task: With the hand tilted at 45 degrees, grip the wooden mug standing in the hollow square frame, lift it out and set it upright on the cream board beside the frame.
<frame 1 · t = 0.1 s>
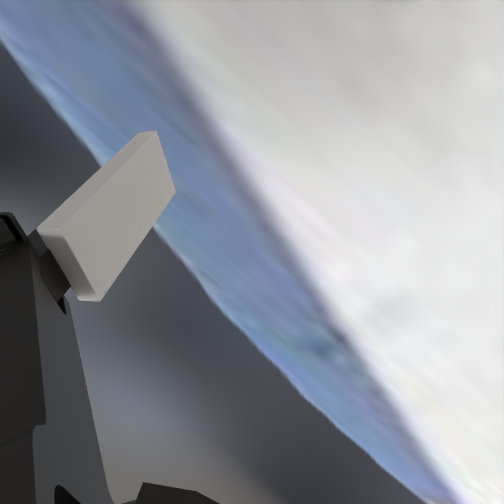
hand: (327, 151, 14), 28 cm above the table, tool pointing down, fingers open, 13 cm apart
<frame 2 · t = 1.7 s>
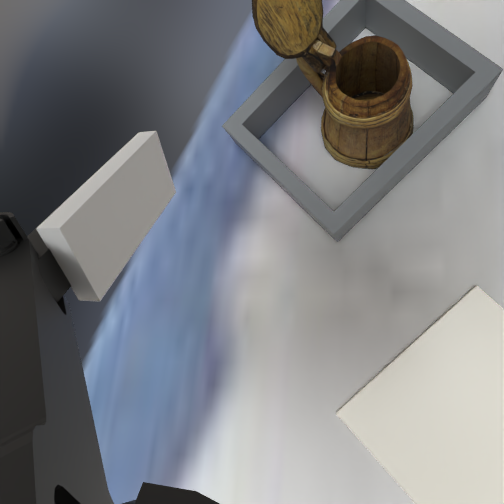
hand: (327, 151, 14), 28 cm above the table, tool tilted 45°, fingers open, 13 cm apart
cream board: (480, 427, 36), on the table
wooden mug: (347, 120, 43), resting in hollow square frame
hollow square frame: (351, 122, 42), on the table
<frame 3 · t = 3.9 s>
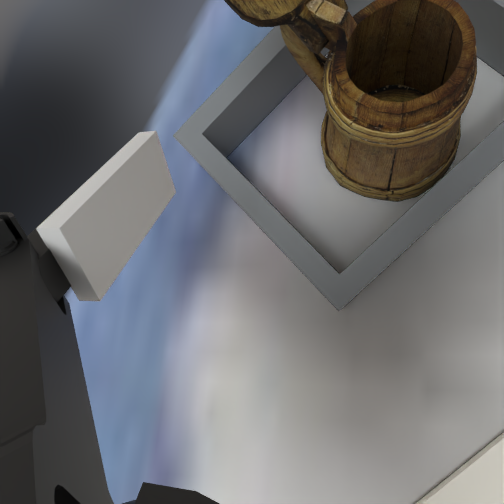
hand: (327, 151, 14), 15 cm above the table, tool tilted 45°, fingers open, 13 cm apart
wooden mug: (360, 127, 29), resting in hollow square frame
hollow square frame: (366, 131, 29), on the table
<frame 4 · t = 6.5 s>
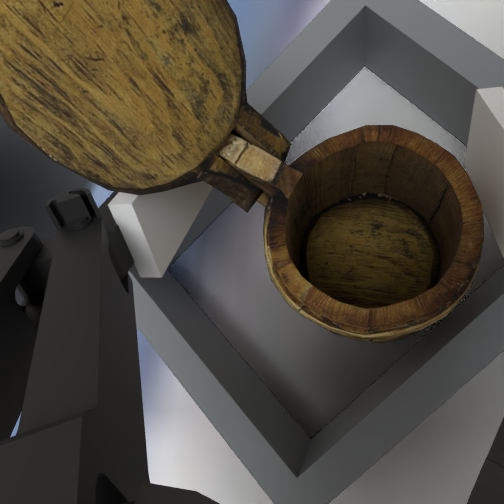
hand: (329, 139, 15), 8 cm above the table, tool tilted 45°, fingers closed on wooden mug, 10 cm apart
wooden mug: (331, 239, 23), resting in hollow square frame, touching gripper
hollow square frame: (339, 245, 23), on the table
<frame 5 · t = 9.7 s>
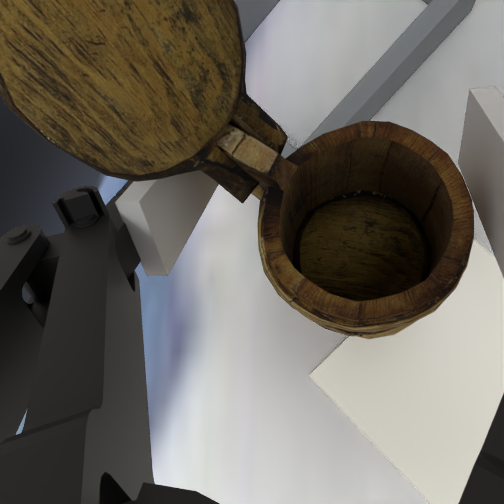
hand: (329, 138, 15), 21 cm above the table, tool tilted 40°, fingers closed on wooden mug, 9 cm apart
cream board: (464, 383, 33), on the table
wooden mug: (325, 235, 23), point 13 cm above the table, touching gripper
hollow square frame: (319, 51, 37), on the table
when the fingers open (10 cm above the table, at t = 13.2 s): wooden mug drops 1 cm, point 1 cm above the table.
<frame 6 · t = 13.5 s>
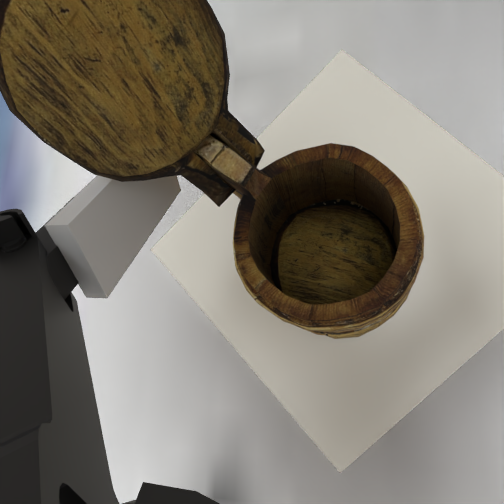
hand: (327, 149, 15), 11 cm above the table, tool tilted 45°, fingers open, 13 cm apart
cream board: (341, 250, 24), on the table
wooden mug: (304, 238, 24), point 1 cm above the table, touching gripper
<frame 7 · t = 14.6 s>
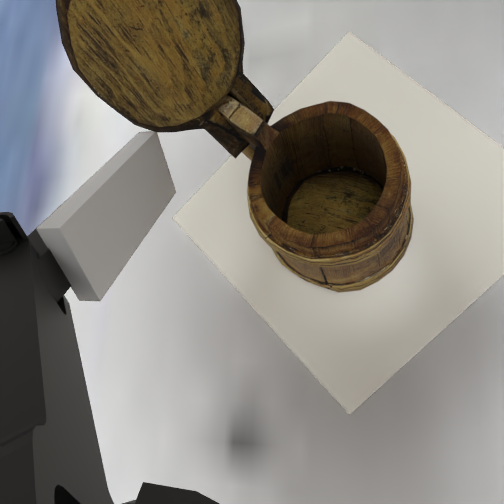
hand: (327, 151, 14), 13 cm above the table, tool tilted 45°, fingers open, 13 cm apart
cream board: (349, 214, 27), on the table
wooden mug: (311, 203, 27), resting on cream board, touching gripper
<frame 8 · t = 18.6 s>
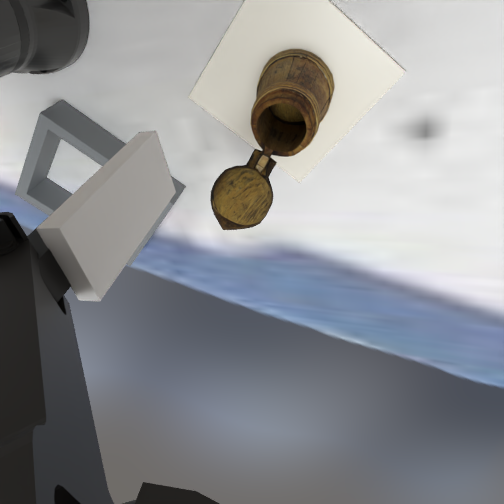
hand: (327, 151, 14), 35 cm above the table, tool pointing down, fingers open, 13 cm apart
cream board: (289, 84, 47), on the table
wooden mug: (285, 107, 48), resting on cream board
hollow square frame: (107, 182, 62), on the table
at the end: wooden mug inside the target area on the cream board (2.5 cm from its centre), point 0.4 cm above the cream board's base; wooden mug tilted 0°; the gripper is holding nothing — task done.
